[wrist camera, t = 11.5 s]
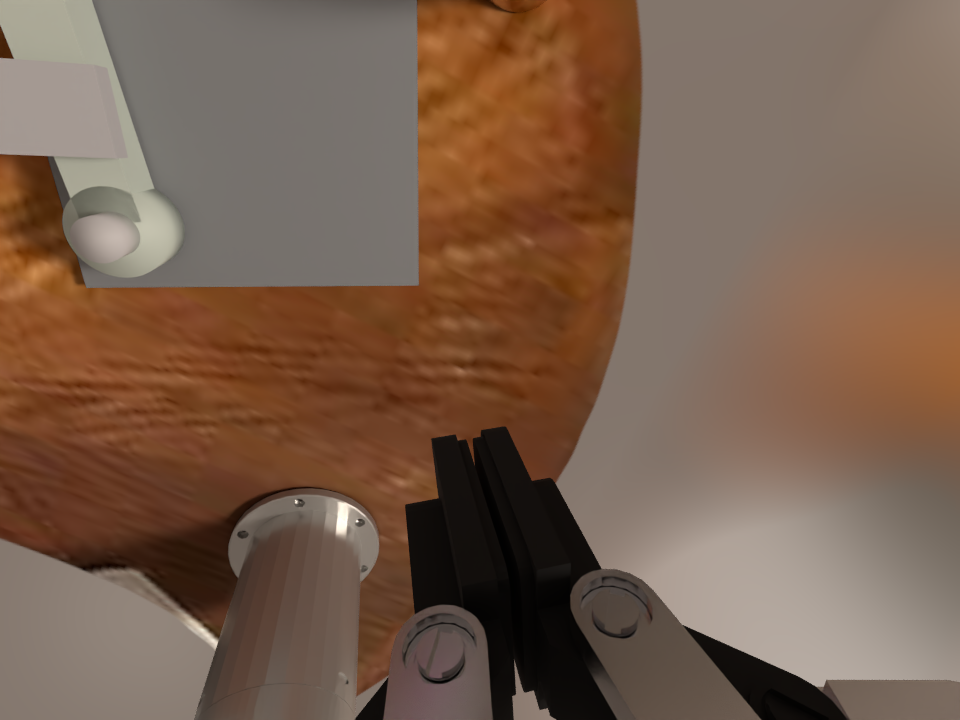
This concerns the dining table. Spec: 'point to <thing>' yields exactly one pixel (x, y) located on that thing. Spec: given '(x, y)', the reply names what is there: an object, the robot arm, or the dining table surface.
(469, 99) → the dining table surface
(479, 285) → the dining table surface
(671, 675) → the robot arm
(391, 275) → the board
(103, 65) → the link
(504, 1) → the beer glass
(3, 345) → the dining table surface
